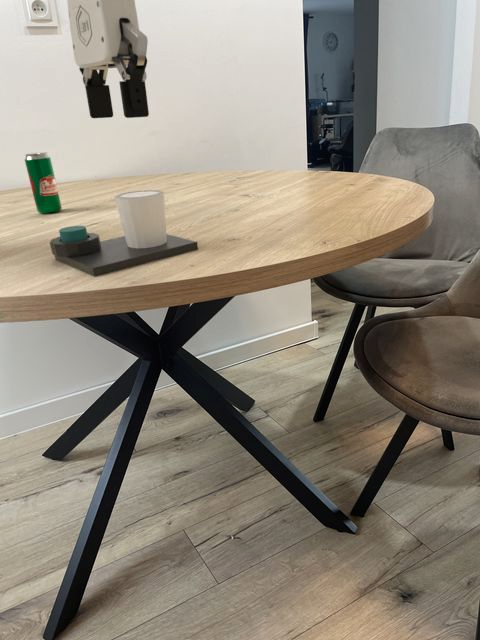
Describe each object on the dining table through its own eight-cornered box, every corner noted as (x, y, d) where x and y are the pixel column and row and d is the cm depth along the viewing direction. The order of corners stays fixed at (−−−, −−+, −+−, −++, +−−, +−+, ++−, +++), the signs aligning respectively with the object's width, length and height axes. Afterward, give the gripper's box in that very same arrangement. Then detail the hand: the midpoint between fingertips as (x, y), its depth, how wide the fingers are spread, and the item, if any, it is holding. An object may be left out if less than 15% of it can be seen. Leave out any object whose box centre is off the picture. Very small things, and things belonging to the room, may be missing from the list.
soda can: (47, 215, 108) (32, 154, 103) (32, 213, 110) (18, 154, 105) (67, 210, 112) (54, 151, 106) (52, 209, 114) (39, 151, 109)
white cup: (148, 235, 79) (140, 188, 76) (180, 239, 75) (174, 190, 72) (113, 246, 74) (103, 196, 71) (145, 251, 70) (137, 199, 67)
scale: (89, 278, 64) (83, 255, 63) (48, 260, 74) (43, 239, 72) (198, 249, 74) (195, 229, 73) (149, 236, 83) (146, 218, 82)
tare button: (67, 245, 70) (64, 232, 69) (57, 241, 72) (54, 229, 72) (92, 240, 72) (90, 227, 71) (81, 236, 74) (79, 224, 74)
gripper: (36, -31, 64) (65, 119, 71) (97, -67, 52) (124, 118, 59) (93, -25, 68) (114, 116, 76) (161, -56, 56) (178, 115, 64)
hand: (118, 117), depth 67 cm, fingers open, 9 cm apart
